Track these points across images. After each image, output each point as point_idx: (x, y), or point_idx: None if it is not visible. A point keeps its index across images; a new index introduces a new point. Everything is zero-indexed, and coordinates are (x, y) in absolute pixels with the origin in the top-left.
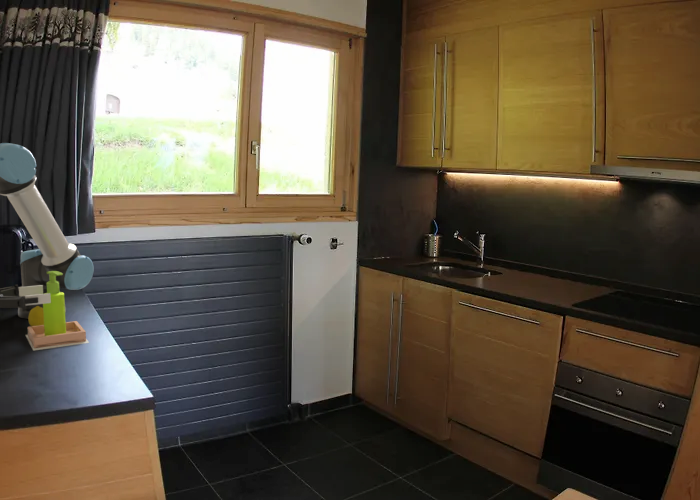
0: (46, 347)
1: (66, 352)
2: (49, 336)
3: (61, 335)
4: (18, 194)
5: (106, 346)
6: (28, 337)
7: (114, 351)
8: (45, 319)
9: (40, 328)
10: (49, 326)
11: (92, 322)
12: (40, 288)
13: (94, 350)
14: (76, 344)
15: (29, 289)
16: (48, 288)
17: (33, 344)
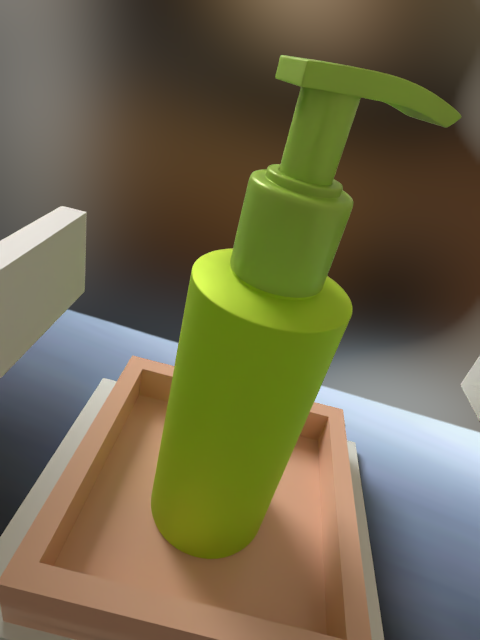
0: None
1: (442, 566)
2: (360, 564)
3: (353, 503)
4: None
5: (399, 423)
6: (36, 630)
7: (470, 434)
8: (252, 480)
9: (68, 515)
10: (267, 499)
11: None
12: (76, 247)
13: (441, 470)
14: (361, 486)
15: (18, 294)
16: (318, 254)
17: None
